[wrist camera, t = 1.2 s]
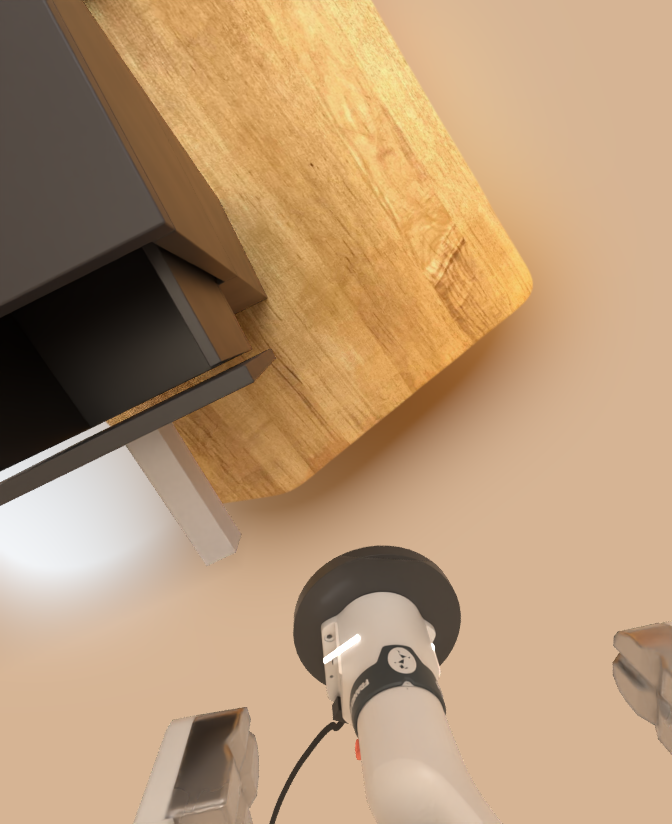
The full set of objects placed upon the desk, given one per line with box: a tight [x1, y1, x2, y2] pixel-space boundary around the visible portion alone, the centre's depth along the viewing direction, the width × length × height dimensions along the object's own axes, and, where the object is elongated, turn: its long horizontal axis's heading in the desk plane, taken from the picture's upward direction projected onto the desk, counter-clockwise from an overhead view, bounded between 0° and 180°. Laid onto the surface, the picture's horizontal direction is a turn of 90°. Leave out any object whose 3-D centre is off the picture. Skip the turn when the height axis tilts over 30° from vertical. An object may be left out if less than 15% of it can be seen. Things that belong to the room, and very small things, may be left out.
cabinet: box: [0, 0, 267, 318], centre depth 27 cm, size 12×16×33 cm
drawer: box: [0, 242, 276, 566], centre depth 20 cm, size 21×16×11 cm
